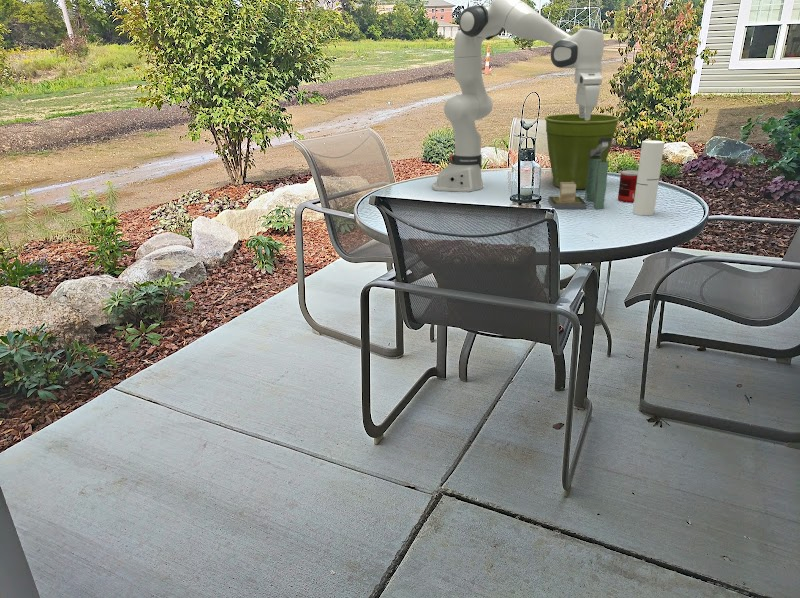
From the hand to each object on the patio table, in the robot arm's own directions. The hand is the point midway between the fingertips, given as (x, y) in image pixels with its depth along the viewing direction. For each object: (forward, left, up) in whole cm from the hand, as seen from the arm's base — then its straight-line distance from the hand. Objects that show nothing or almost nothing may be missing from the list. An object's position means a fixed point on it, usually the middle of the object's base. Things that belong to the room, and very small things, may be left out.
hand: (584, 119), depth 211 cm
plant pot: (+7, +37, -32) cm, 50 cm away
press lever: (+8, +3, -13) cm, 15 cm away
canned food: (+22, +9, -32) cm, 40 cm away
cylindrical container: (+22, -11, -32) cm, 40 cm away
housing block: (-3, +1, -29) cm, 30 cm away
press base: (0, +4, -32) cm, 32 cm away
